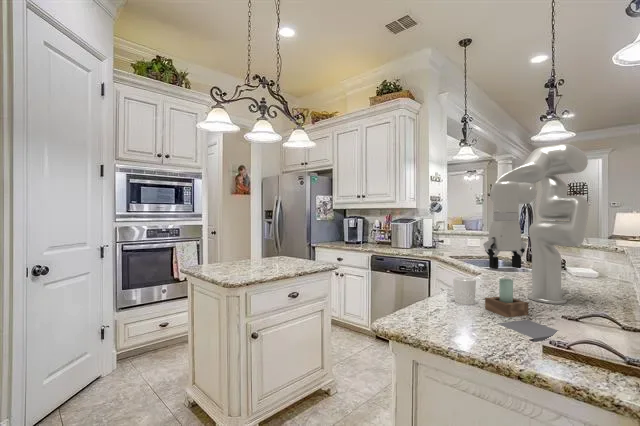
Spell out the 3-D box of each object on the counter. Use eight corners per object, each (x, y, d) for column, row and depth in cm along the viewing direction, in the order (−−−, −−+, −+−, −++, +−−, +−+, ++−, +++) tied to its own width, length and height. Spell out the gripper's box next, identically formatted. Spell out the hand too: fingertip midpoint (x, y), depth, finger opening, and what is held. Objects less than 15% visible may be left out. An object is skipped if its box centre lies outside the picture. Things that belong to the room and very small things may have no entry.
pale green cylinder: (505, 309, 109) (505, 278, 109) (515, 313, 106) (515, 280, 106) (496, 310, 108) (496, 278, 108) (506, 314, 104) (506, 281, 104)
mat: (527, 322, 99) (527, 319, 99) (566, 337, 88) (566, 333, 88) (497, 326, 96) (497, 323, 96) (533, 342, 84) (533, 338, 84)
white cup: (471, 302, 123) (471, 276, 123) (479, 308, 115) (479, 280, 115) (450, 301, 123) (450, 276, 123) (457, 307, 115) (457, 280, 115)
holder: (505, 309, 113) (505, 295, 113) (528, 317, 104) (528, 302, 104) (485, 312, 110) (485, 297, 110) (506, 320, 101) (506, 305, 101)
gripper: (515, 218, 113) (515, 265, 113) (476, 217, 108) (476, 267, 108) (535, 218, 106) (535, 269, 105) (494, 217, 101) (493, 270, 101)
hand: (505, 268), depth 107 cm, fingers open, 9 cm apart
